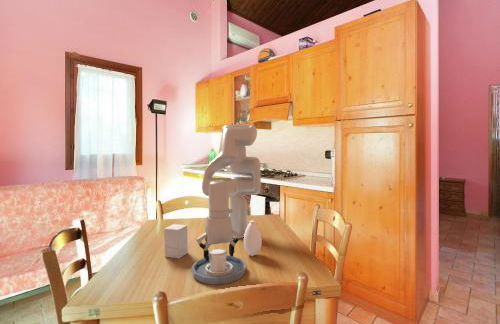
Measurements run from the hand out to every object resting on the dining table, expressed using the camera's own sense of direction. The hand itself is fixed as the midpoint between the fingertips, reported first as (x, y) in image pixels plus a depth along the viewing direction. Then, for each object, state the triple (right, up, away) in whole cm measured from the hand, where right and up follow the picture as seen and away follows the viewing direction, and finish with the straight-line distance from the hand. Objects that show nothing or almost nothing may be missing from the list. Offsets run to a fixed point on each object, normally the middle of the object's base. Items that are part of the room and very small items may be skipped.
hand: (219, 257), depth 103 cm
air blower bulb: (+13, -5, +15) cm, 21 cm away
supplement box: (-21, -5, +16) cm, 26 cm away
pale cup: (0, -5, 0) cm, 5 cm away
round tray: (0, -5, 0) cm, 5 cm away
